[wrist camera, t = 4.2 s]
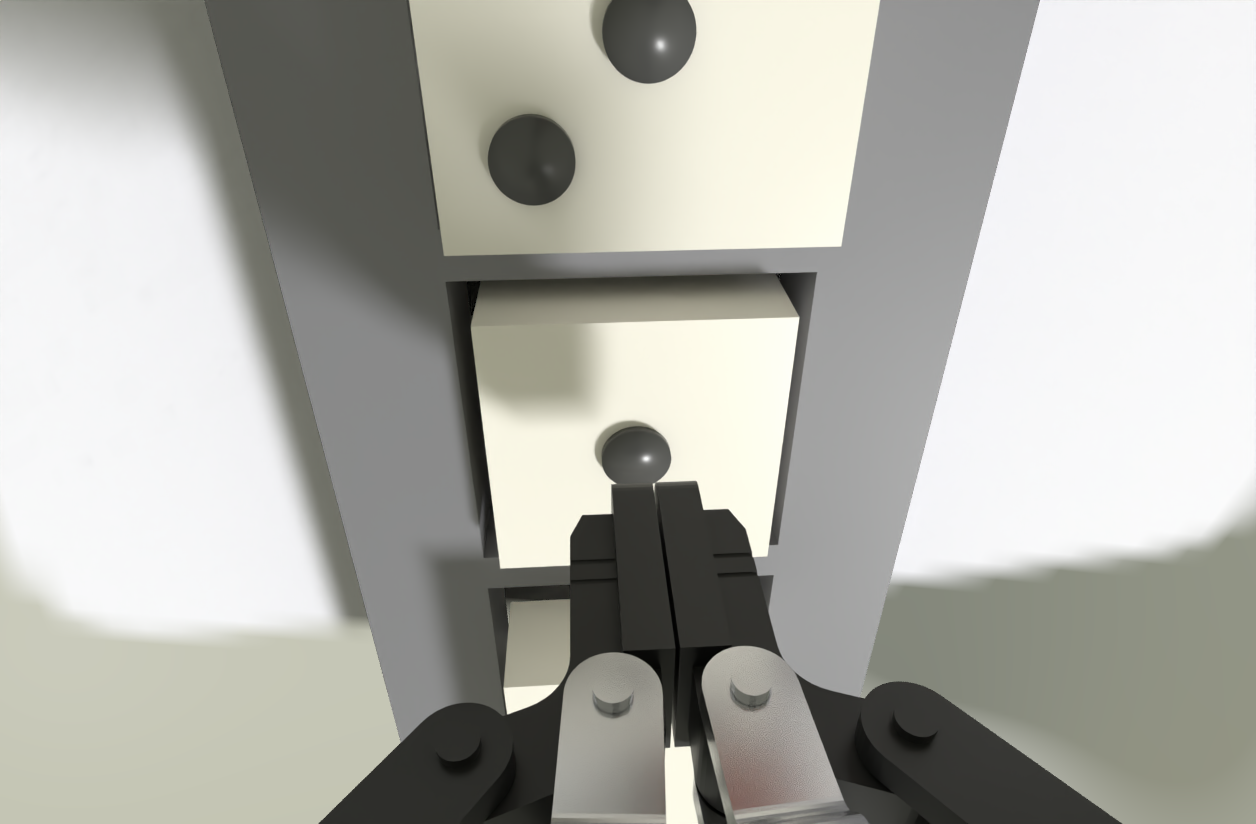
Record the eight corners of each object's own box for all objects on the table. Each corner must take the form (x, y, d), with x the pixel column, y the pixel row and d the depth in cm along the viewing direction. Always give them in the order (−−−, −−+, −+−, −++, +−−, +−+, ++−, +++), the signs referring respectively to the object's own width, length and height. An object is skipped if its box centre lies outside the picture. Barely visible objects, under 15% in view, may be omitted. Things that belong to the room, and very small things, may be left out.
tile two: (752, 590, 19) (776, 680, 17) (734, 736, 23) (752, 828, 21) (510, 602, 19) (502, 695, 17) (527, 748, 22) (523, 842, 20)
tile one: (769, 263, 16) (802, 321, 14) (746, 486, 20) (768, 562, 17) (483, 271, 16) (469, 332, 14) (507, 496, 19) (499, 575, 17)
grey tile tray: (1040, -337, 12) (1139, -386, 10) (821, 690, 26) (843, 759, 24) (181, -353, 11) (96, -409, 9) (425, 712, 25) (412, 785, 23)
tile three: (853, -238, 11) (929, -275, 8) (800, 194, 14) (845, 251, 12) (409, -243, 10) (366, -282, 8) (463, 201, 14) (442, 260, 11)
